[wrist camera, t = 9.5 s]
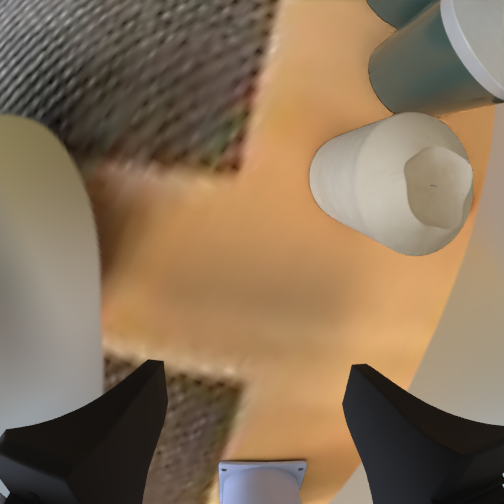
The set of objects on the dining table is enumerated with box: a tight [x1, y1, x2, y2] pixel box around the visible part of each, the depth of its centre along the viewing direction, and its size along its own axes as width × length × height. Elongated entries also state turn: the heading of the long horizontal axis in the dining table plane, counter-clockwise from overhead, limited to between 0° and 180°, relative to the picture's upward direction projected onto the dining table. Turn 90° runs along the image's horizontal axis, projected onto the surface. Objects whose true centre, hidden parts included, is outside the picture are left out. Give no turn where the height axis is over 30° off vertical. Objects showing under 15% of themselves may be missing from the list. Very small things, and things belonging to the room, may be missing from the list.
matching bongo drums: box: [367, 0, 504, 117], centre depth 12 cm, size 13×6×10 cm, turn 177°
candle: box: [309, 112, 473, 256], centre depth 14 cm, size 6×6×10 cm
